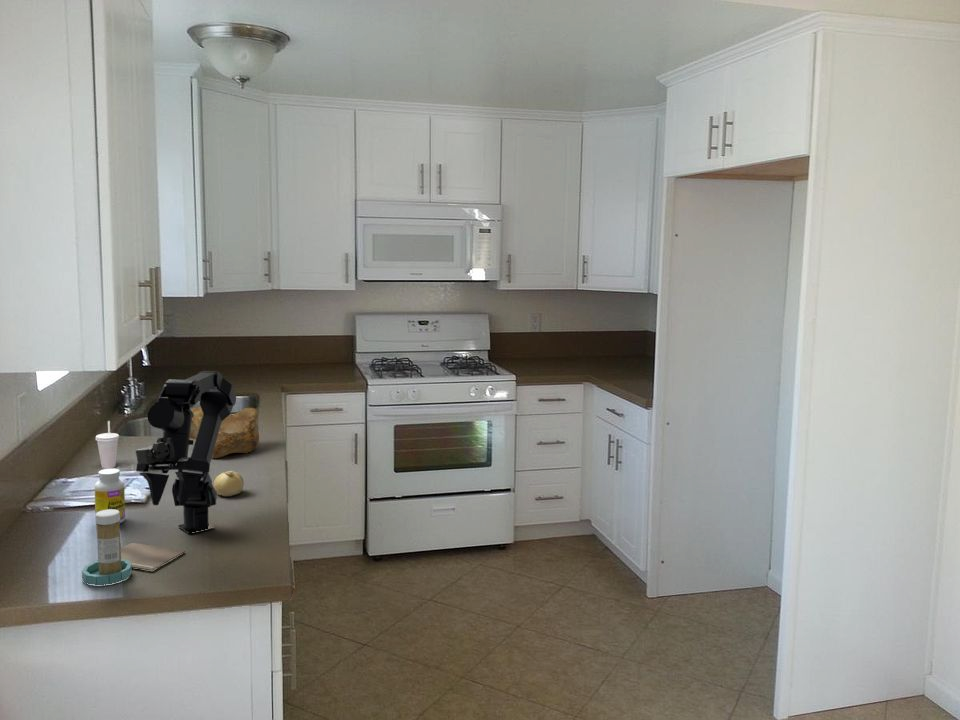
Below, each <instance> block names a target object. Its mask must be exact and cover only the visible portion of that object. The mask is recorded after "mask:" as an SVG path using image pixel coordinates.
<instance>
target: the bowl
mask: <svg viewBox="0 0 960 720" xmlns="http://www.w3.org/2000/svg"><path fill="white" fill-rule="evenodd" d="M121 569H122V570H121V571H120V572H116V573H113V574H108V575H98V573H99V562H98V561H97V560H95V561H92V562H90V563H88V564H87V565H84V567H83V569H82V570H81V578H82V582H83V581H84V582H85V583H88V584H95V585H104V584H105V585H106V584H112V583H116V582H119V581H121V580H124V579H126V578H127V577H129V576H130V575H131V573H132V571H133V569H132V563H130V562H129V561H128V560H124V559H121ZM132 574H133V573H132ZM131 576H132V575H131ZM84 582H83V583H84ZM85 583H84V584H85Z"/></svg>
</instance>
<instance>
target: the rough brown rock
mask: <svg viewBox="0 0 960 720" xmlns="http://www.w3.org/2000/svg"><path fill="white" fill-rule="evenodd" d="M190 410H191V411H192V412H193V414H194V417H193V418H192V423H191V432H190V440H194V441H193V442H195V441H196V438H197V434H198V431H199V427H200V424H201V420H202V417H203V411H202V409H201V406H199V407H195V408H194V407H193V408H190ZM259 443H260V433H259V411H258V409H256V408H254V407H245V408H243V409H242V410H240V411H238V412H235V413H231V414H230V415H229V416H228V417H226V418H225V419H224V420H223V421H222V422H221V426H220V429H219V433H218V436H217V440H216V444H215V447H214V451H213V455H212V458H211V460H215V459H219V458H223V457H225V456H227V455H230V454H234V453H235V454H236V453H239V454H240V453H241V454H249V453H248V452H251V451H252V452H253V451H254V450H255V449H256V448H257V447H258V445H259ZM252 452H251V453H252ZM214 458H215V459H214Z"/></svg>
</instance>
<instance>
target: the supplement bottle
mask: <svg viewBox="0 0 960 720" xmlns="http://www.w3.org/2000/svg"><path fill="white" fill-rule="evenodd" d="M120 476H121V471H120V469H118V468H110V469H104V468H103V469H101V470H99V471H98V478H99V480H97V482H95V484H94V507H95V508H94V509H95V510H94V512H95V515H96V513H97V512H99V511H102V510H108V509H114V510H118V511H119V512H120V522H119V525H120V524H121V523H124V522H125V519H126V503H125V502H126V500H125V498H126V495H125V494H126V493H125V492H126V491H125V482H124V481H123V480H122V479H120ZM95 515H94V516H95Z"/></svg>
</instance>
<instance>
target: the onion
mask: <svg viewBox="0 0 960 720" xmlns="http://www.w3.org/2000/svg"><path fill="white" fill-rule="evenodd" d="M244 485H245V481H244V479H243V477H242V475H241V474H240V473H238V472H236V471H234V470H228V471H224V472H222V473H220V474H219V475H217V476H216V477H215V479H214V480H213V487H214V489H215V490H216V492H217V495H219V496H221V495H222V496H221V497H231V496H230V495H233V496H235V494H236V495H239V494H240V493H241V492H242V491H243V489H244ZM238 493H239V494H238Z"/></svg>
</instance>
